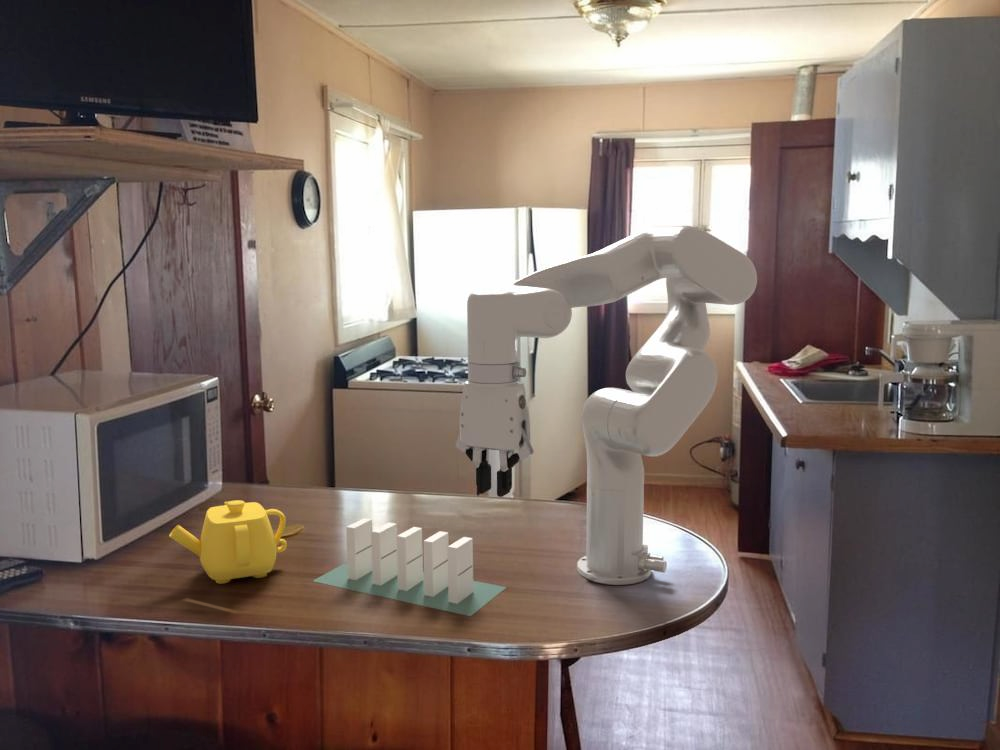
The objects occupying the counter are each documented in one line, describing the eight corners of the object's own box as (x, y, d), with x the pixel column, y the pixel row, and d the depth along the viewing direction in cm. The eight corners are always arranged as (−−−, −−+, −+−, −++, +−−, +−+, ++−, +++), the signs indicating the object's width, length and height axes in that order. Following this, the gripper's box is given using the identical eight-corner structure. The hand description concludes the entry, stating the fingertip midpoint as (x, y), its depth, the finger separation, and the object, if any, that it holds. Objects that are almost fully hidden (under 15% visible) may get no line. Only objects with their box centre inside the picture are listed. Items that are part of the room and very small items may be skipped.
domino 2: (398, 575, 144) (396, 523, 143) (380, 585, 140) (379, 532, 138) (389, 573, 145) (388, 522, 143) (372, 583, 140) (371, 531, 139)
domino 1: (373, 570, 146) (372, 519, 145) (356, 580, 142) (354, 528, 141) (365, 568, 147) (364, 518, 146) (347, 578, 143) (346, 526, 141)
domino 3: (423, 580, 142) (422, 528, 140) (406, 591, 138) (405, 537, 136) (414, 578, 143) (413, 526, 141) (398, 589, 138) (396, 535, 137)
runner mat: (506, 589, 139) (506, 587, 139) (470, 618, 128) (470, 616, 128) (355, 559, 152) (355, 557, 152) (312, 583, 142) (312, 581, 142)
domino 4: (449, 585, 140) (448, 532, 138) (433, 596, 135) (432, 542, 134) (440, 583, 140) (439, 531, 139) (424, 594, 136) (423, 540, 135)
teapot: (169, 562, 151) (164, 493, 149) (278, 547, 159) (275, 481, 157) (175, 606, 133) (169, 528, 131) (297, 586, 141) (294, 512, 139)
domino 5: (473, 592, 137) (472, 538, 136) (457, 603, 133) (456, 548, 131) (464, 590, 138) (463, 536, 136) (448, 601, 133) (447, 546, 132)
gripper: (553, 373, 127) (552, 493, 130) (458, 367, 134) (460, 480, 137) (531, 381, 121) (531, 507, 123) (433, 373, 128) (435, 492, 131)
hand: (494, 491), depth 130 cm, fingers open, 2 cm apart
